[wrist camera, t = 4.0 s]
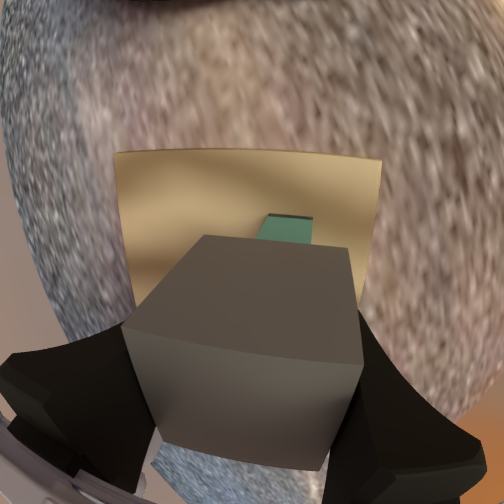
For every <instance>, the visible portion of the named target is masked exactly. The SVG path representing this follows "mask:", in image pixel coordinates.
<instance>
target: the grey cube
mask: <svg viewBox="0 0 504 504" xmlns="http://www.w3.org/2000/svg"><path fill="white" fill-rule="evenodd" d="M121 329H122V332H123V336H124V339H125V342H126V345H127V349H128V352H129V355H130V358H131V361H132V364H133V367H134V370H135V372H136V375H137V378H138V381H139V384H140V386H141V389H142V392H143V394H144V397H145V399H146V402H147V405H148V407H149V410H150V412H151V414H152V417H153V419H154V422H155V424H156V426H157V429H158V431H159V433H160V435H161V438H162V440H163V441H164V442H167V443H170V444H173V445H176V446H180V447H183V448H187V449H190V450H194V451H198V452H202V453H206V454H210V455H214V456H218V457H222V458H227V459H232V460H237V461H242V462H247V463H253V464H259V465H265V466H272V467H279V468H287V469H296V470H306V471H319V470H320V468H321V466H322V464H323V462H324V460H325V458H326V456H327V454H328V452H329V450H330V448H331V446H332V444H333V441H334V439H335V437H336V435H337V432H338V430H339V428H340V426H341V423H342V421H343V419H344V416H345V414H346V411H347V409H348V407H349V404H350V402H351V399H352V396H353V394H354V391H355V389H356V386H357V383H358V381H359V378H360V375H361V372H362V370H363V367H364V359H363V349H362V340H361V331H360V323H359V315H358V308H357V301H356V294H355V287H354V281H353V275H352V269H351V263H350V257H349V252H348V248H344V247H335V246H324V245H314V244H304V243H294V242H283V241H272V240H262V239H251V238H240V237H228V236H217V235H206V234H204V235H203V236H202V237H201V238H200V239H199V240H198V241H197V242H196V243H195V244H194V246H193V247H192V248H191V249H190V250H189V251H188V252H187V253H186V254H185V255H184V256H183V257H182V258H181V259H180V261H179V262H178V263H177V264H176V265H175V266H174V267H173V268H172V269H171V270H170V271H169V272H168V274H167V275H166V276H165V277H164V278H163V279H162V280H161V281H160V282H159V283H158V285H157V286H156V287H155V288H154V289H153V290H152V291H151V292H150V293H149V295H148V296H147V297H146V298H145V299H144V300H143V301H142V302H141V304H140V305H139V306H138V307H137V308H136V309H135V310H134V312H133V313H132V314H131V315H130V316H129V317H128V318H127V320H126V321H125V322H124V323H123V324H122V325H121Z"/></svg>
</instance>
